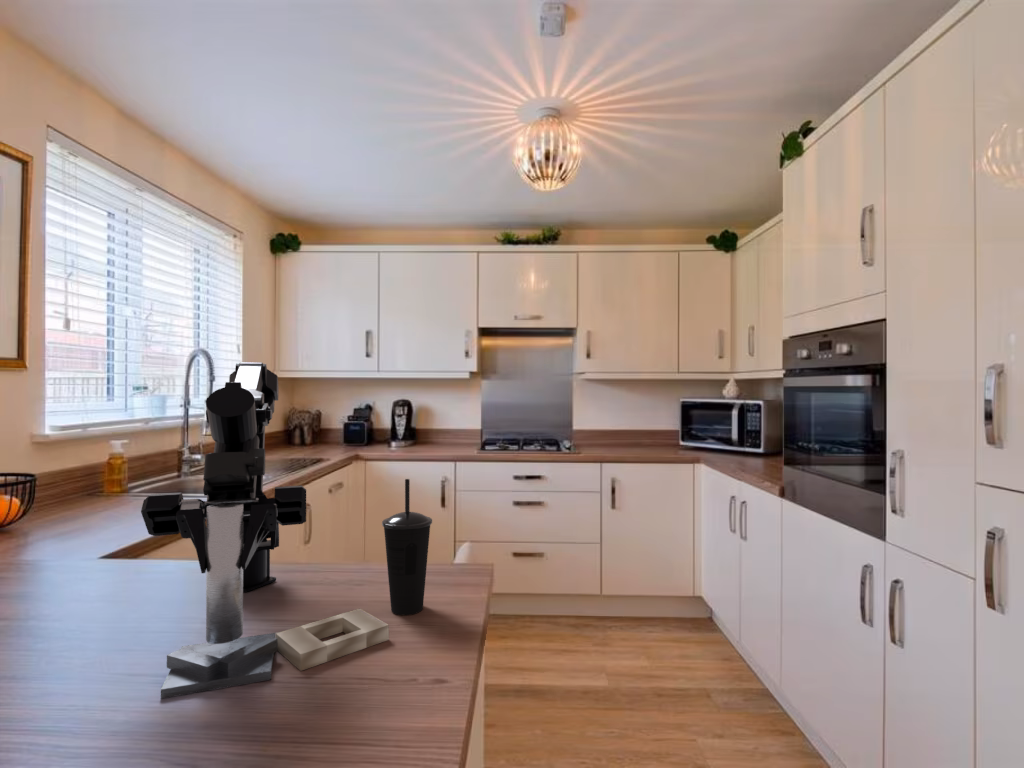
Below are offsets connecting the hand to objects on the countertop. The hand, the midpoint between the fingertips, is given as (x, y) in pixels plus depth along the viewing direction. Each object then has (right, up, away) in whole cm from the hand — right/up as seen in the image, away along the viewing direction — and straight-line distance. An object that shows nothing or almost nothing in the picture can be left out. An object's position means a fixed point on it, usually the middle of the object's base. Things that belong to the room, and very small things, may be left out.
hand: (223, 569), depth 66 cm
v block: (0, -12, +1) cm, 12 cm away
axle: (0, -9, +1) cm, 9 cm away
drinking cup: (+19, -13, +19) cm, 29 cm away
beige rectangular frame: (+11, -12, +7) cm, 18 cm away
